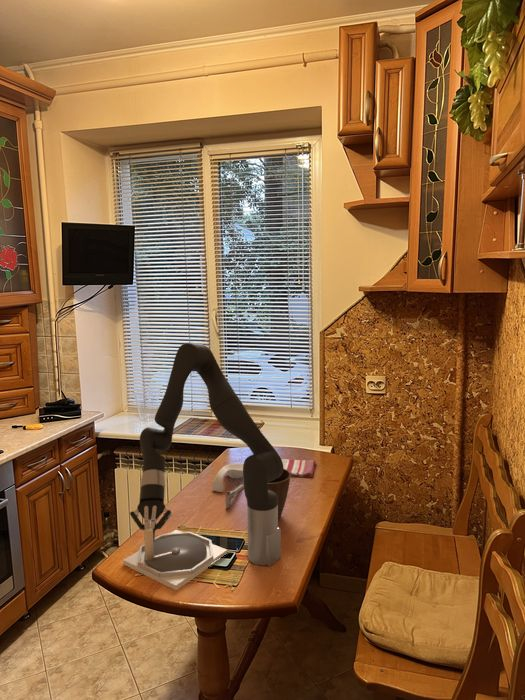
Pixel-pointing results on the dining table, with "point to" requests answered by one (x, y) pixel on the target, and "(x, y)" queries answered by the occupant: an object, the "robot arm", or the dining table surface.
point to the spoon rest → (231, 471)
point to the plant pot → (280, 489)
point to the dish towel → (299, 467)
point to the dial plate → (180, 576)
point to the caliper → (232, 495)
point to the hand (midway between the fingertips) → (149, 543)
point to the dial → (173, 552)
